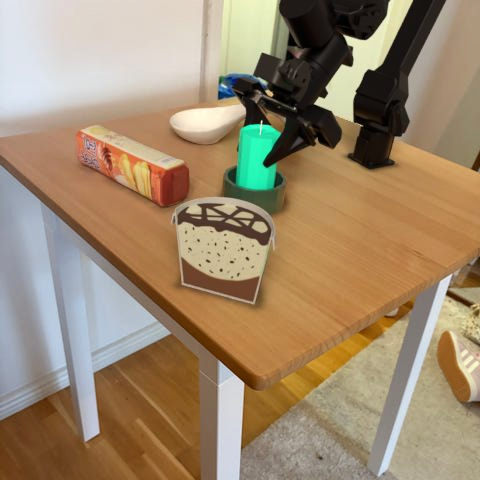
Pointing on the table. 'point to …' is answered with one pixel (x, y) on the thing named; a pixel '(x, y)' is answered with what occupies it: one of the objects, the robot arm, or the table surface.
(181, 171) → the snack package
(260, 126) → the candle
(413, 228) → the table surface
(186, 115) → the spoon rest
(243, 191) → the bowl
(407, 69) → the robot arm
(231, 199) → the food container
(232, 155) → the table surface
